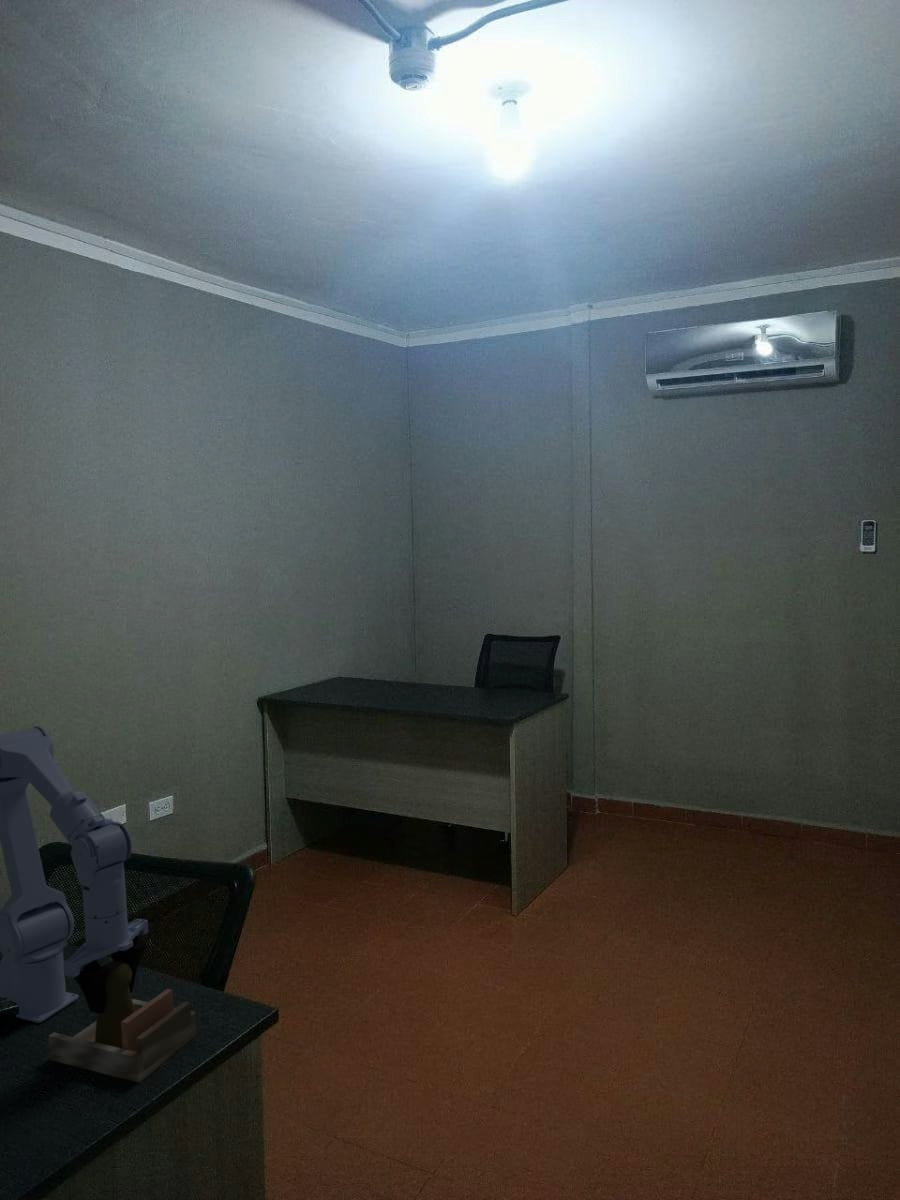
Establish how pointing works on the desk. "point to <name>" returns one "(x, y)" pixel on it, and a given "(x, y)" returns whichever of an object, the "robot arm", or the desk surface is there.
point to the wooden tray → (122, 1062)
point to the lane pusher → (145, 1018)
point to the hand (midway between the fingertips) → (111, 1001)
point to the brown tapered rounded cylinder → (115, 1004)
